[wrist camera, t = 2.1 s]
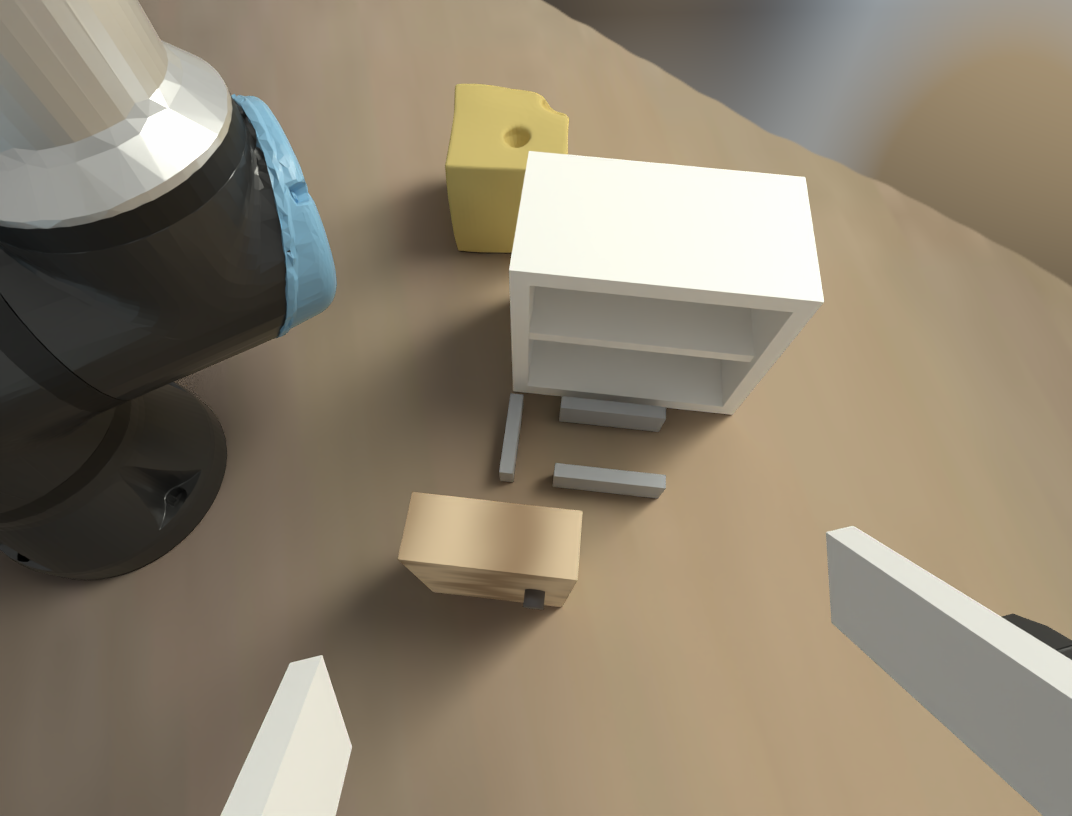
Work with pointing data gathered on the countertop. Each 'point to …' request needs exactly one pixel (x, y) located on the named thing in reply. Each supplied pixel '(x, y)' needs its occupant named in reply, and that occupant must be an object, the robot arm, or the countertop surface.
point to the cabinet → (651, 295)
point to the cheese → (495, 160)
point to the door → (492, 549)
